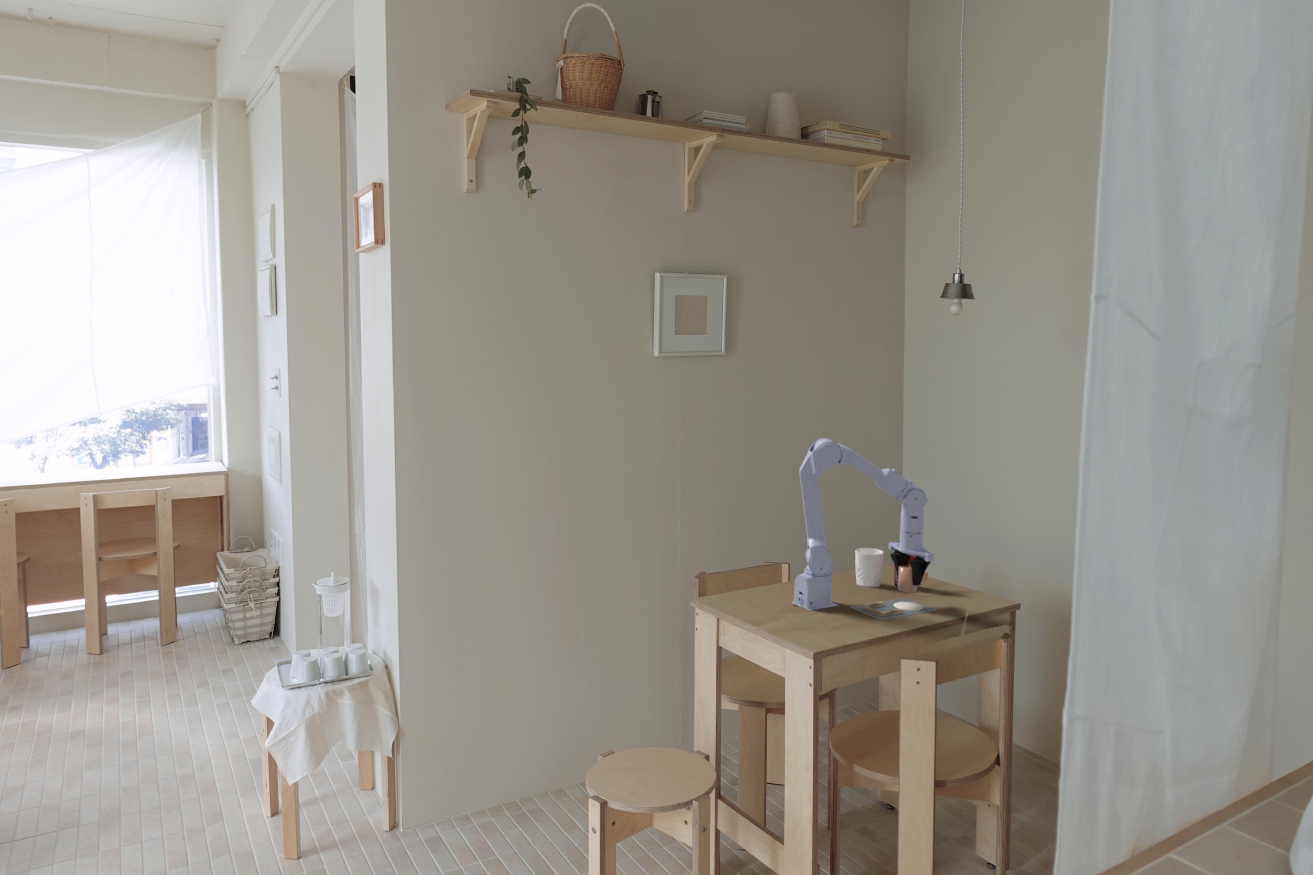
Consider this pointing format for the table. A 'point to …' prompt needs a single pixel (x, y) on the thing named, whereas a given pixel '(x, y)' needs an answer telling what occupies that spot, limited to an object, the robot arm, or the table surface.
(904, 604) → the board
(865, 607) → the cradle
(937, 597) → the table surface
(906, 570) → the pink rounded handled piece
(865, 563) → the white cup
